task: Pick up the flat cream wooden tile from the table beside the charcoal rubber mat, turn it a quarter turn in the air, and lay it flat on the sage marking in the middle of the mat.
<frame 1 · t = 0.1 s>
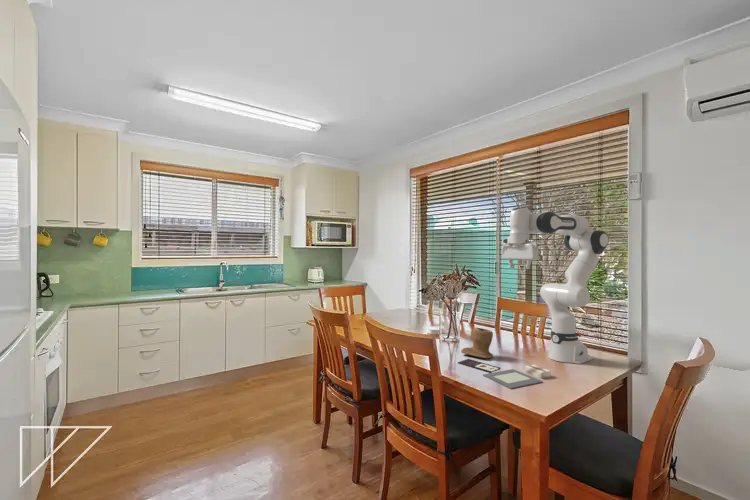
hand: (519, 268, 175), 48 cm above the table, tool pointing down, fingers open, 8 cm apart
mat: (512, 378, 160), on the table
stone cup: (478, 356, 193), on the table
chocolate bar: (478, 367, 177), on the table
tile: (536, 374, 166), on the table
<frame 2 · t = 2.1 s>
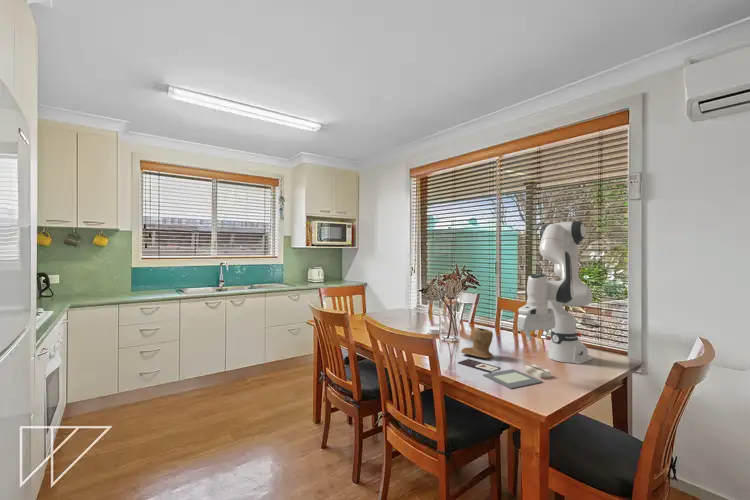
hand: (536, 339, 165), 16 cm above the table, tool pointing down, fingers open, 8 cm apart
nothing on the table moved.
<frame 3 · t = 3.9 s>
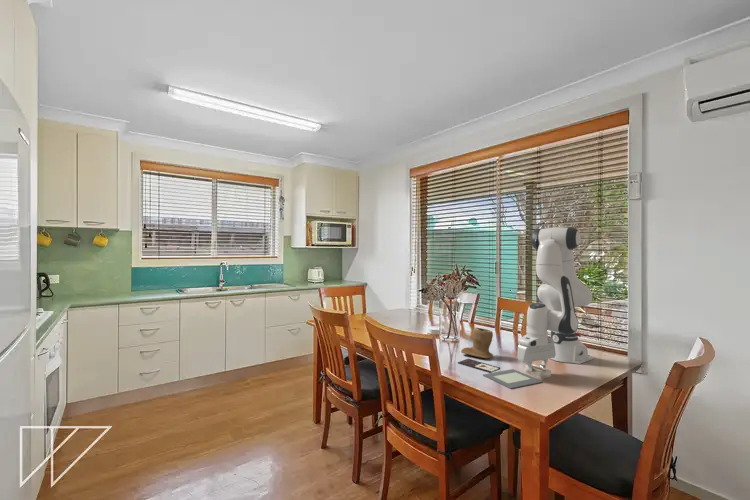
hand: (536, 369, 166), 2 cm above the table, tool pointing down, fingers closed on tile, 6 cm apart
tile: (536, 374, 166), on the table, touching gripper
everything else where it was.
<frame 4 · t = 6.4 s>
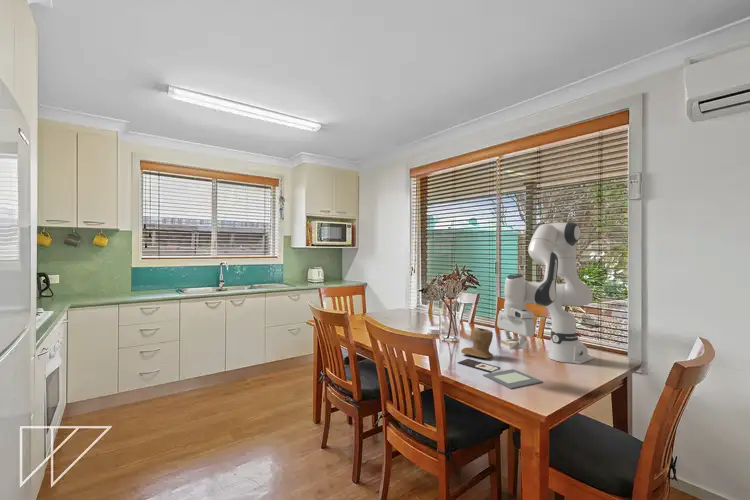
hand: (514, 342, 160), 16 cm above the table, tool pointing down, fingers closed on tile, 6 cm apart
tile: (514, 347, 160), point 14 cm above the table, touching gripper
everything else where it was.
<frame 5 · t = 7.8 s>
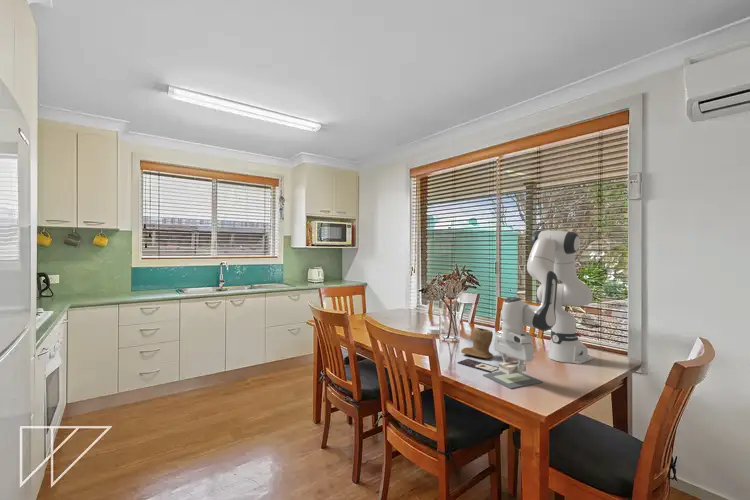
hand: (512, 365, 159), 6 cm above the table, tool pointing down, fingers closed on tile, 6 cm apart
tile: (512, 370, 159), point 4 cm above the table, touching gripper
everything else where it was.
when the fingers open (4 cm above the table, at t = 8.7 s): tile stays where it is, resting on mat.
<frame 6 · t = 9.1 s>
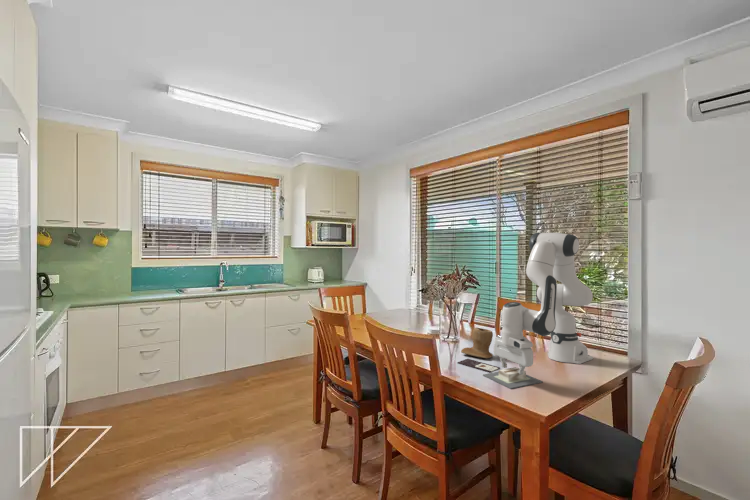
hand: (512, 370, 160), 4 cm above the table, tool pointing down, fingers open, 8 cm apart
tile: (512, 377, 160), point 1 cm above the table, touching mat
everything else where it was.
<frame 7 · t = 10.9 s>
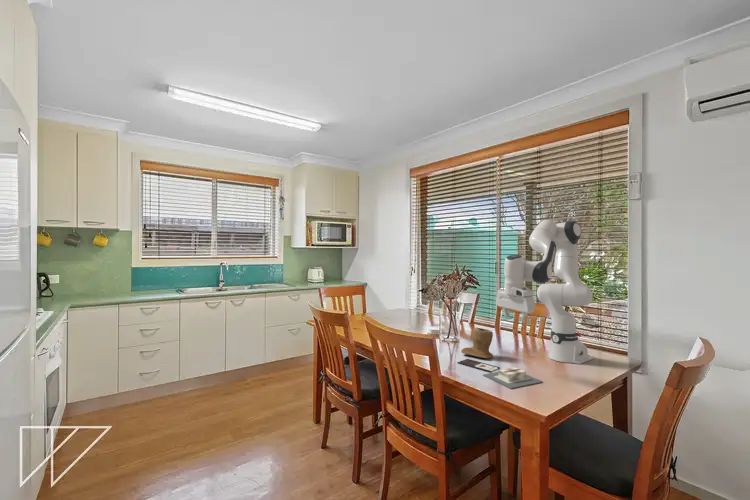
hand: (514, 319, 169), 25 cm above the table, tool pointing down, fingers open, 8 cm apart
nothing on the table moved.
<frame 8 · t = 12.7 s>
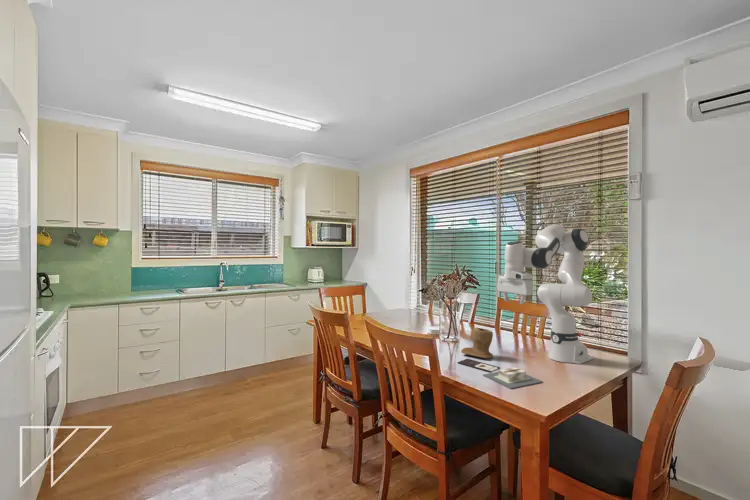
hand: (514, 302, 177), 31 cm above the table, tool pointing down, fingers open, 8 cm apart
nothing on the table moved.
at the end: tile inside the target area on the mat (0.1 cm from its centre), point 0.6 cm above the mat's base; tile tilted 0°; the gripper is holding nothing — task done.
